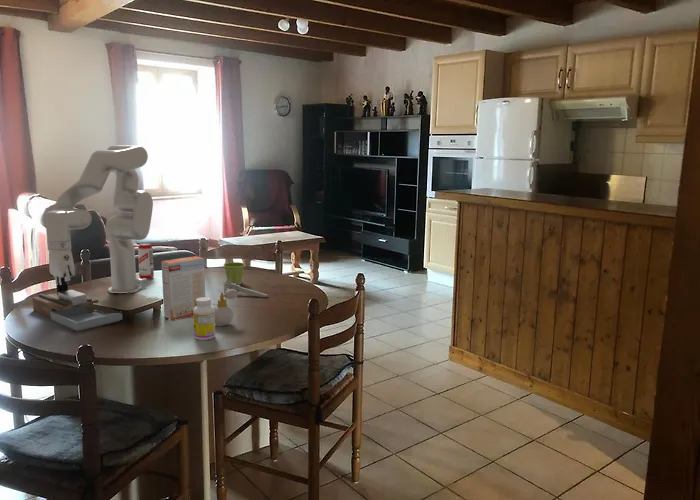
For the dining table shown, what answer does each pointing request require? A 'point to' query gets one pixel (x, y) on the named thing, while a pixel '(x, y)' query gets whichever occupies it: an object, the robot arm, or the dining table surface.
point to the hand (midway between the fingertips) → (62, 294)
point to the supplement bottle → (204, 319)
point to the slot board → (54, 304)
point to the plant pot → (234, 271)
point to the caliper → (240, 289)
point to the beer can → (145, 261)
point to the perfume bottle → (224, 308)
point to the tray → (83, 318)
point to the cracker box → (182, 286)
